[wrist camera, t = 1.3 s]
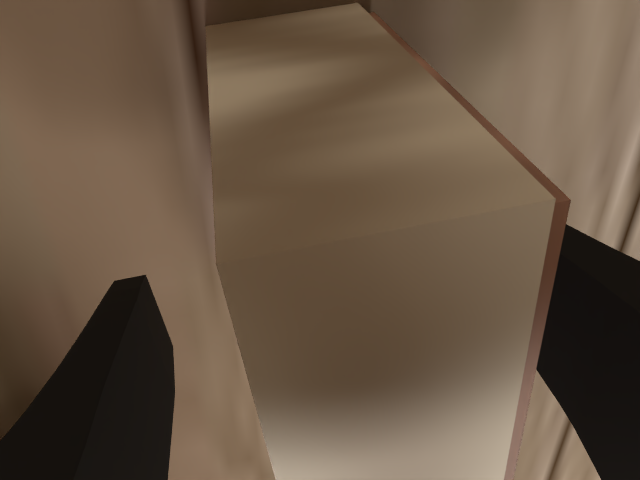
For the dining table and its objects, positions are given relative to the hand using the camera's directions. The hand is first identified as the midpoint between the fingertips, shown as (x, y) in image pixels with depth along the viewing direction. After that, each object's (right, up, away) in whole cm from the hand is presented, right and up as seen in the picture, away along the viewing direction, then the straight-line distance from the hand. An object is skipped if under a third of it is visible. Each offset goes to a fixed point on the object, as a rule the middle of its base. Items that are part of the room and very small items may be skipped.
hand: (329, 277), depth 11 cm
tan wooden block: (-1, +2, +3) cm, 3 cm away
